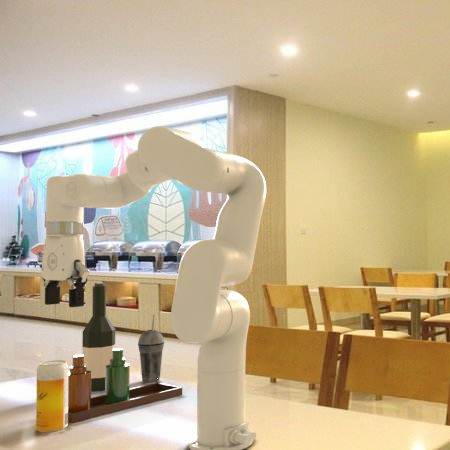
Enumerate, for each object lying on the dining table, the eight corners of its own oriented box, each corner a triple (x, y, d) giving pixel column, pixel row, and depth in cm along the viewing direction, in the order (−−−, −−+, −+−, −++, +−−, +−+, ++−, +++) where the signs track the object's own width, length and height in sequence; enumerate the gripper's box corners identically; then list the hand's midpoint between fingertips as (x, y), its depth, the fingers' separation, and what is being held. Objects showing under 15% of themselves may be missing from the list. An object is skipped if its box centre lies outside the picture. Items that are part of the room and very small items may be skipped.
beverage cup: (131, 385, 176) (132, 315, 177) (149, 379, 183) (149, 312, 184) (152, 386, 174) (153, 316, 174) (169, 380, 181) (169, 313, 181)
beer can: (40, 427, 136) (41, 360, 137) (70, 425, 138) (71, 359, 139) (32, 436, 131) (33, 366, 131) (64, 433, 132) (65, 364, 133)
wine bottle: (101, 394, 165) (102, 284, 166) (75, 393, 167) (75, 283, 168) (121, 387, 174) (122, 282, 174) (96, 385, 175) (96, 281, 176)
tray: (182, 397, 163) (182, 387, 163) (71, 426, 138) (72, 414, 138) (157, 391, 168) (157, 382, 168) (47, 418, 144) (47, 407, 144)
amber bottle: (95, 413, 145) (96, 355, 145) (72, 419, 140) (73, 359, 141) (83, 410, 148) (83, 352, 148) (60, 416, 143) (60, 356, 144)
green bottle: (133, 404, 153) (134, 348, 154) (113, 409, 149) (113, 352, 149) (121, 401, 156) (121, 346, 157) (100, 406, 152) (101, 349, 152)
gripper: (27, 230, 140) (26, 304, 140) (70, 230, 131) (69, 309, 131) (60, 230, 147) (59, 301, 146) (102, 230, 137) (102, 306, 137)
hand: (64, 305), depth 138 cm, fingers open, 9 cm apart
